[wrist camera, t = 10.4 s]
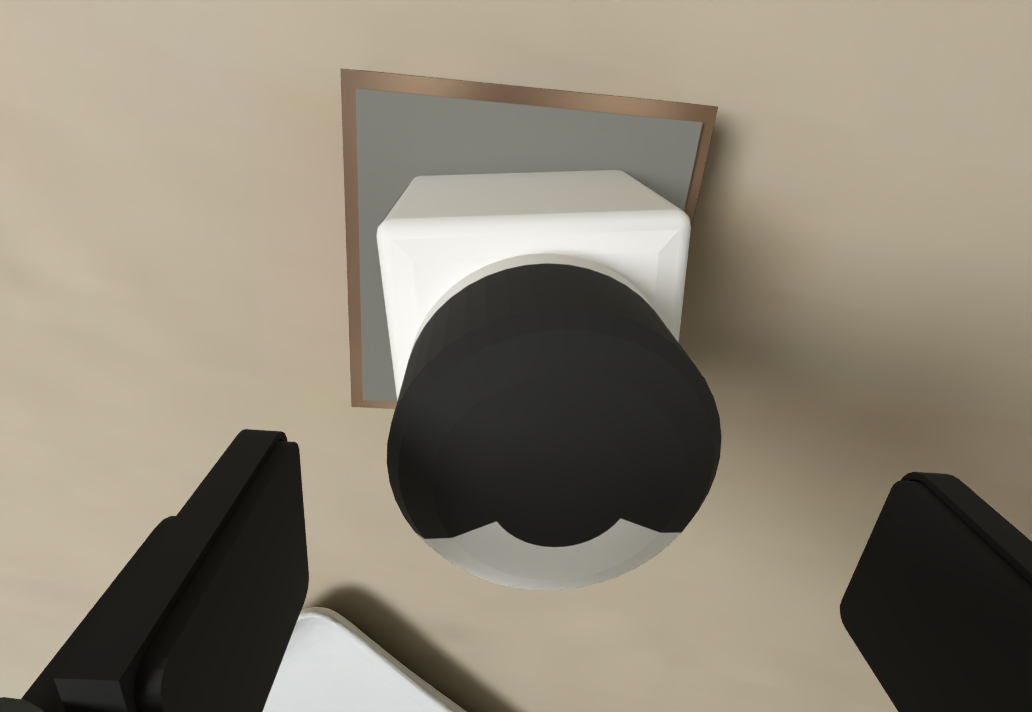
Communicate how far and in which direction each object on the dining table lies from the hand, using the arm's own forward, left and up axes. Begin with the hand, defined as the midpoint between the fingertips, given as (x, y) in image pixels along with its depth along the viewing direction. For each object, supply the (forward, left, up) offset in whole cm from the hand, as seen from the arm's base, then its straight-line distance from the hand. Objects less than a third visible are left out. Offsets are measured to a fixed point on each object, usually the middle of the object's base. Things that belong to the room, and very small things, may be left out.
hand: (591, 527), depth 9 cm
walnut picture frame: (+1, 0, -17) cm, 17 cm away
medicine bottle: (0, 0, -13) cm, 13 cm away
